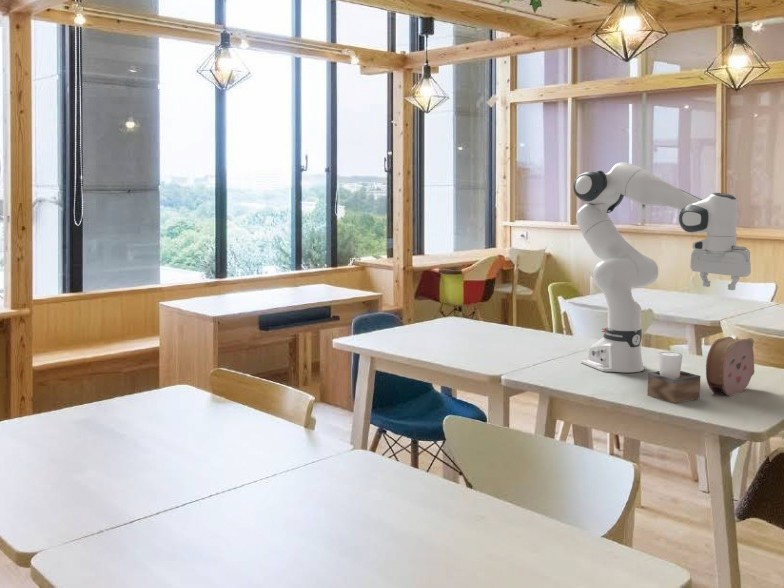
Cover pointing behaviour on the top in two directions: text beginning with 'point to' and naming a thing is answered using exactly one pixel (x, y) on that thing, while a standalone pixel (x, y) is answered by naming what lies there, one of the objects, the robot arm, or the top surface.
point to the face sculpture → (730, 365)
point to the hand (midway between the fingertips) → (718, 288)
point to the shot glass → (670, 364)
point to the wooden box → (674, 387)
